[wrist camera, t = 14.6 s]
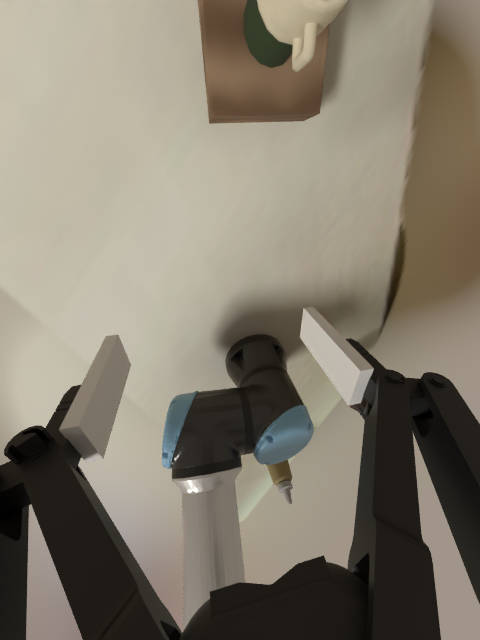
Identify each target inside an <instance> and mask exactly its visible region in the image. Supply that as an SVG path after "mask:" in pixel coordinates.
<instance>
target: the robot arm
mask: <svg viewBox="0 0 480 640" xmlns="http://www.w3.org/2000/svg"><path fill="white" fill-rule="evenodd" d="M300 338H301V340H302V341H303V342H304V344H305V345H306V347H307V348H308V349H309V351H310V352H311V354H312V355H313V356H314V358H315V359H316V361H317V362H318V364H319V365H320V366H321V368H322V369H323V371H324V372H325V373H326V375H327V376H328V378H329V379H330V380H331V382H332V383H333V385H334V386H335V387H336V389H337V390H338V392H339V393H340V394H341V396H342V397H343V399H344V400H345V401H346V403H347V404H348V406H350V405H354V404H359V403H361V401H362V398H363V396H364V397H365V399H366V400H367V401H368V402H367V405H366V407H365V410H364V412H363V414H365V413H366V414H365V424H364V434H363V446H362V455H361V465H360V477H359V486H358V496H357V506H356V517H355V527H354V536H353V542H352V546H351V550H350V554H349V560H348V569H346V568H344V567H341V566H339V565H337V564H333V563H328V562H326V560H325V558H324V556H321V557H318V558H314V559H312V560H308V561H305V562H302V563H299V564H297V565H295V566H294V567H293V568H292V569H291V570H289V571H288V572H287V573H286V574H284V575H283V576H282V577H281V578H279V579H278V580H277V581H276V582H275V583H274V584H271V585H264V584H253V583H245V575H244V565H243V555H242V548H241V537H240V528H239V518H238V509H237V500H236V491H235V479H236V477H237V475H238V474H239V472H240V471H241V469H242V464H241V455H245V454H250V453H254V456H255V458H256V459H257V461H258V462H259V463H261V464H266V465H272V464H277V463H280V462H283V461H285V460H287V459H289V458H291V457H293V456H294V455H296V454H297V453H299V452H300V451H301V450H302V449H303V448H304V447H305V446H306V445H307V444H308V443H309V441H310V439H311V438H312V435H313V424H312V421H311V419H310V416H309V414H308V411H307V408H306V406H305V405H304V404H303V402H302V400H301V398H300V396H299V394H298V392H297V390H296V388H295V386H294V384H293V383H292V381H291V379H290V377H289V375H288V373H287V365H286V355H285V352H284V349H283V348H282V346H281V344H280V343H279V342H278V341H277V340H276V339H275V338H273V337H270V336H267V335H254V336H250V337H247V338H244V339H242V340H240V341H239V342H237V343H236V344H235V345H234V346H233V347H232V348H231V349H230V351H229V352H228V354H227V357H226V368H227V372H228V375H229V376H230V378H231V379H232V381H233V382H234V383H235V385H236V386H237V388H230V389H222V390H212V391H202V392H198V391H195V392H193V393H187V394H181V395H178V396H176V397H175V398H174V399H173V400H172V401H171V403H170V406H169V409H168V413H167V417H166V422H165V428H164V436H163V445H162V451H163V453H162V465H163V467H165V468H167V469H170V468H171V467H172V481H173V482H174V483H175V484H176V485H177V486H178V487H179V488H180V490H181V492H182V542H183V543H182V544H183V545H182V546H183V617H184V618H183V621H184V632H183V633H182V632H181V630H180V628H179V627H178V625H177V624H176V622H175V620H174V619H173V617H172V616H171V614H170V613H169V611H168V610H167V608H166V607H165V606H164V604H163V603H162V602H161V601H160V599H159V597H158V596H157V594H156V592H155V591H154V589H153V588H152V586H151V584H150V583H149V581H148V579H147V578H146V576H145V574H144V573H143V571H142V570H141V568H140V566H139V564H138V563H137V561H136V560H135V558H134V556H133V555H132V553H131V552H130V550H129V548H128V546H127V545H126V543H125V542H124V540H123V538H122V536H121V535H120V533H119V531H118V530H117V528H116V526H115V525H114V523H113V522H112V520H111V518H110V517H109V515H108V513H107V512H106V510H105V508H104V507H103V505H102V503H101V502H100V500H99V498H98V497H97V495H96V494H95V492H94V490H93V489H92V487H91V485H90V484H89V482H88V481H87V479H86V477H85V475H84V474H83V472H82V470H81V469H80V467H78V463H79V461H80V458H81V457H82V458H83V460H84V461H85V462H86V463H87V462H92V461H96V460H101V459H103V458H104V454H105V451H106V448H107V444H108V441H109V437H110V434H111V431H112V427H113V424H114V421H115V417H116V414H117V410H118V407H119V404H120V400H121V397H122V393H123V390H124V387H125V383H126V380H127V376H128V373H129V370H130V366H131V364H130V362H129V359H128V357H127V354H126V352H125V350H124V347H123V345H122V342H121V340H120V338H119V335H112V336H106V337H105V339H104V341H103V343H102V345H101V347H100V349H99V351H98V353H97V355H96V357H95V359H94V361H93V363H92V365H91V367H90V369H89V371H88V373H87V375H86V377H85V379H84V381H83V383H82V385H78V386H73V387H71V388H70V390H68V391H67V393H65V394H64V396H63V398H62V400H61V401H60V405H58V407H57V409H56V412H54V414H53V416H52V418H51V419H50V421H49V423H48V424H47V426H46V428H44V427H42V426H33V427H29V428H27V429H25V430H23V431H21V432H20V433H18V434H17V435H16V436H14V437H13V438H12V439H11V441H9V442H8V444H7V446H6V448H5V449H4V455H5V456H7V457H8V458H9V459H10V460H11V461H10V462H7V463H5V464H3V465H1V466H0V640H26V608H27V562H28V517H29V505H30V504H32V506H33V509H34V512H35V515H36V517H37V520H38V523H39V525H40V528H41V530H42V533H43V536H44V538H45V541H46V544H47V546H48V549H49V552H50V554H51V557H52V559H53V562H54V564H55V567H56V570H57V573H58V575H59V578H60V580H61V583H62V586H63V588H64V591H65V593H66V596H67V599H68V601H69V604H70V606H71V609H72V612H73V615H74V617H75V620H76V622H77V625H78V628H79V630H80V633H81V635H82V638H83V640H441V636H440V628H439V618H438V609H437V599H436V590H435V581H434V573H433V563H432V557H431V553H430V550H429V548H428V546H427V545H426V544H425V543H424V542H423V539H422V535H421V527H420V526H421V525H420V514H419V502H418V490H417V479H416V467H415V456H414V445H413V433H414V436H415V438H416V441H417V443H418V446H419V449H420V451H421V454H422V457H423V459H424V462H425V464H426V467H427V469H428V472H429V475H430V477H431V480H432V483H433V485H434V488H435V490H436V493H437V496H438V498H439V501H440V503H441V506H442V509H443V511H444V514H445V516H446V519H447V521H448V524H449V527H450V529H451V532H452V535H453V537H454V540H455V542H456V545H457V547H458V550H459V552H460V555H461V558H462V560H463V563H464V566H465V568H466V571H467V573H468V576H469V579H470V581H471V584H472V586H473V589H474V591H475V594H476V596H477V599H478V601H479V603H480V424H479V423H478V421H477V420H476V418H475V416H474V415H473V414H472V412H471V410H470V409H469V408H468V406H467V404H466V403H465V401H464V400H463V398H462V397H461V395H460V394H459V392H458V391H457V389H456V388H455V386H454V385H453V383H452V382H451V381H450V380H449V379H447V378H446V377H444V376H442V375H439V374H437V373H432V372H427V373H424V374H423V376H422V377H421V379H415V378H405V377H404V376H403V375H402V374H400V373H399V372H396V371H393V370H388V369H385V368H384V367H383V366H382V365H381V364H380V363H379V362H378V361H377V360H376V359H375V358H374V357H373V356H372V355H371V354H369V352H368V351H367V350H366V349H364V347H362V346H361V345H360V344H359V343H358V342H356V341H354V340H353V339H351V338H350V339H345V338H344V337H343V336H342V335H341V334H340V333H339V332H338V331H337V330H336V329H335V328H334V327H333V326H332V325H331V324H330V323H329V322H328V321H327V320H326V319H325V318H324V317H323V316H322V315H321V314H320V313H319V312H318V311H317V310H316V309H315V308H314V307H307V308H304V309H303V317H302V324H301V332H300ZM412 431H413V433H412Z"/></svg>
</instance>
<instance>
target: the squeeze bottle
mask: <svg viewBox="0 0 480 640" xmlns="http://www.w3.org/2000/svg"><path fill="white" fill-rule="evenodd" d="M267 467H268V470H269V472H270V475H271V478H272V480H273V483H274V484H275V485H277V487H278V490H279V492H280V493H283V494H284V496H285V498H286V500H287V502H288V504H291V503H292V500H291V493H290V490H291V489H292V488H293V487H292V484H291V480H292V475H291V471H290V467H289V463H288V459H287V460H285V461H283V462H280V463H277V464H272V465H267Z"/></svg>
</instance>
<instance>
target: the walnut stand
mask: <svg viewBox="0 0 480 640" xmlns="http://www.w3.org/2000/svg"><path fill="white" fill-rule="evenodd" d="M246 4H247V0H198V7H199V17H200V28H201V39H202V49H203V60H204V71H205V82H206V92H207V103H208V114H209V123H244V122H282V121H304V120H306V119H309V118H311V117H313V116H315V115H317V114H320V106H321V97H322V88H323V79H324V70H325V61H326V52H327V43H328V34H329V25H328V26H327V27H326V28H325V29H324V30H323V31H322V32H321V33H320V34H319V35H318V36H316V45H315V52H314V56H313V58H312V60H311V61H310V62H309V63H308V64H307V65H306V66H305V67H304V68H302V69H301V70H300V71H298V72H295V71H294V70H293V69H292V55H291V56H290V57H289V58H288V59H287V60H286V62H285V63H284V64H283V65H281V66H277V67H274V68H270V67H267V66H264V65H262V64H260V63H259V62H258V61H257V60H256V59H255V58H254V57H253V55H252V54H251V53H250V51H249V48H248V45H247V43H246V40H245V37H244V17H243V14H244V11H245V7H246ZM329 24H330V23H329Z"/></svg>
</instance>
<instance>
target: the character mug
mask: <svg viewBox="0 0 480 640" xmlns="http://www.w3.org/2000/svg"><path fill="white" fill-rule="evenodd" d="M348 1H349V0H247V4H246V7H245V11H244V14H243V17H244V37H245V40H246V43H247V45H248V48H249V51H250V53H251V54H252V55H253V57H254V58H255V59H256V60H257V61H258V62H259V63H260V64H262V65H264V66H267V67H270V68H274V67H277V66H281V65H283V64H284V63H285V62H286V60H287V59H288V58H289V57H290V56H291V55H292V69H293V70H294V71H295V72H298V71H300V70H301V69H302V68H304V67H305V66H306V65H307V64H308V63H309V62H310V61H311V60H312V58H313V56H314V52H315V45H316V36H318V35H319V34H320V33H321V32H322V31H323V30H324V29H325V28H326V27H327V26H328V25H329V23H330V22H332V21H333V20H334V19H335V18H336V17H337V15H338V14H339V13H340V11H341V10H342V9H343V7H344V6H345V5H346V3H347V2H348Z"/></svg>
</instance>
